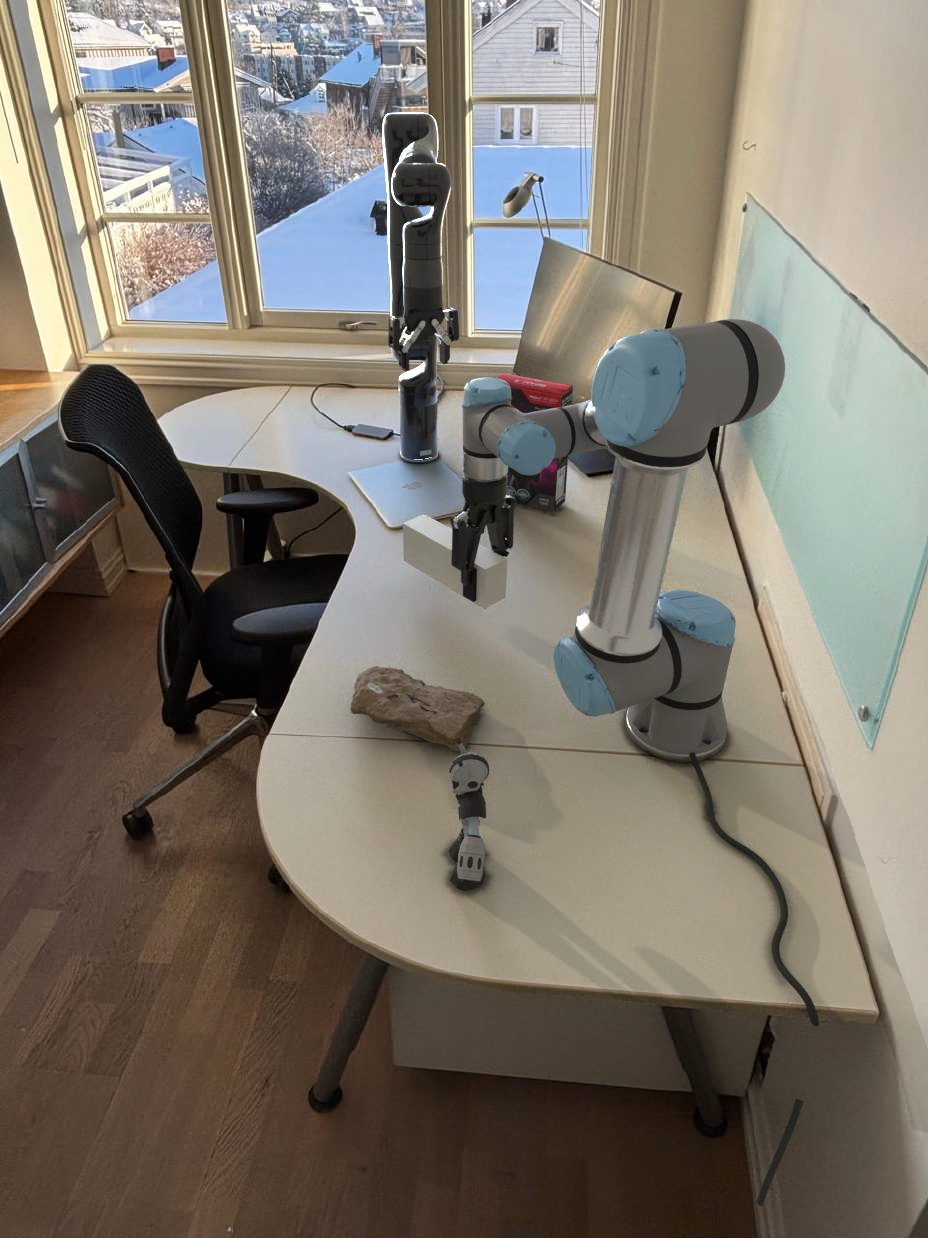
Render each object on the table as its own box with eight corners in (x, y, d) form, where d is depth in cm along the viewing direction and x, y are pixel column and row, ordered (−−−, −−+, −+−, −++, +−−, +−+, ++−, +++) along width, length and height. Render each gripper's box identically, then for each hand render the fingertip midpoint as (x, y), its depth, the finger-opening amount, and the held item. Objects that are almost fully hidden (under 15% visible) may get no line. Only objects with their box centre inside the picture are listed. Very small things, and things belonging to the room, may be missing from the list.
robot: (491, 927, 112) (496, 809, 101) (451, 928, 112) (451, 811, 101) (481, 809, 129) (484, 697, 117) (446, 811, 128) (445, 698, 117)
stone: (324, 722, 139) (331, 687, 137) (361, 683, 152) (368, 651, 150) (454, 769, 135) (464, 735, 133) (480, 725, 149) (489, 694, 147)
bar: (505, 598, 165) (507, 559, 160) (484, 609, 162) (485, 569, 157) (424, 551, 178) (424, 513, 173) (403, 560, 175) (402, 522, 170)
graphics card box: (485, 497, 209) (487, 380, 194) (498, 486, 214) (502, 371, 199) (554, 514, 203) (562, 394, 188) (566, 502, 208) (575, 384, 193)
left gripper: (446, 272, 178) (447, 355, 187) (380, 281, 172) (383, 366, 181) (466, 281, 173) (465, 366, 182) (397, 290, 167) (400, 378, 176)
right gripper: (508, 450, 159) (503, 566, 172) (427, 482, 149) (429, 602, 162) (539, 464, 155) (532, 582, 168) (459, 497, 144) (458, 620, 157)
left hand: (424, 366), depth 181 cm, fingers open, 8 cm apart
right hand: (481, 591), depth 165 cm, fingers closed on bar, 5 cm apart
